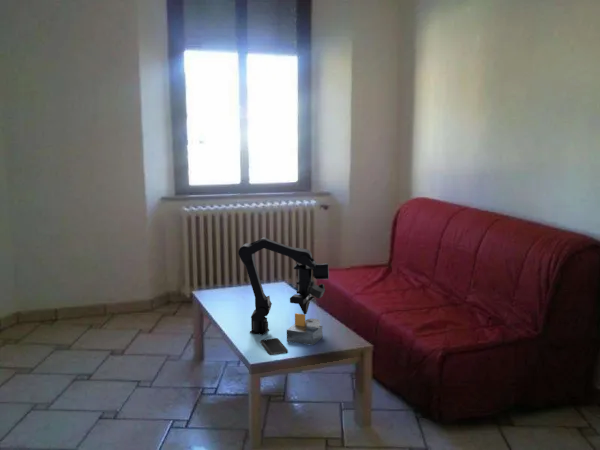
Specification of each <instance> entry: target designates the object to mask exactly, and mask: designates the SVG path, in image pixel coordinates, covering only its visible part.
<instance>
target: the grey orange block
mask: <svg viewBox="0 0 600 450" xmlns="http://www.w3.org/2000/svg"><path fill="white" fill-rule="evenodd" d="M294 324H295V325H298V326H306V314H304V313H298V312H297V313H294Z"/></svg>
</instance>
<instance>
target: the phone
mask: <svg viewBox="0 0 600 450" xmlns="http://www.w3.org/2000/svg"><path fill="white" fill-rule="evenodd" d="M259 342H260V345H262V347H263V348H264V349H265V351H266V353H267V354H268V355H270V356H272V355H273V356H274V355H280V354H287V353H288V352H289V351H288V349H287V347H286V346H285V344H283V343H282V341H281V340H280V339H279V338H276V337H273V338H268V339H267V338H266V339H261V340H260V341H259Z"/></svg>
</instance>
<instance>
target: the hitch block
mask: <svg viewBox="0 0 600 450" xmlns="http://www.w3.org/2000/svg"><path fill="white" fill-rule="evenodd" d="M321 339H323V325H320V328H319V329H318V330H308V329H306V326H298V325H295V323H294V324H292V325H291V326H290V327H288V328H287V329H286V342H289V341H290V343H291V342H292V343H295V342H296V343H297V344H303V345H310V346H314V345H316V343H318V342H320V340H321Z"/></svg>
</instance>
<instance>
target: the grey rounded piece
mask: <svg viewBox="0 0 600 450" xmlns="http://www.w3.org/2000/svg"><path fill="white" fill-rule="evenodd" d="M305 322H306V329H308V330H318V329H319V328H320V326H321V320H320V319H318V318H307V319H305Z"/></svg>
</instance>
